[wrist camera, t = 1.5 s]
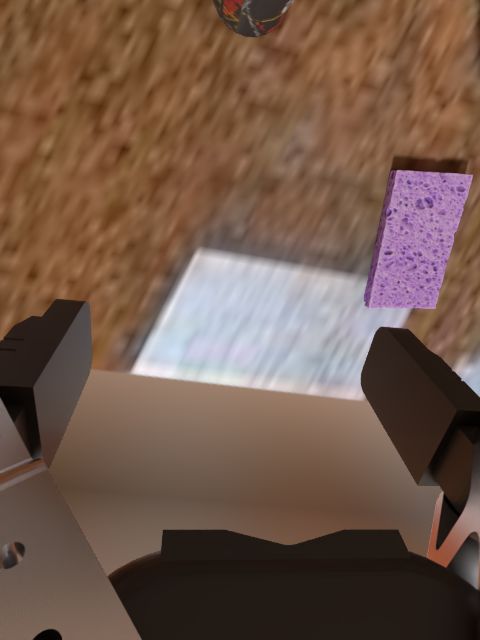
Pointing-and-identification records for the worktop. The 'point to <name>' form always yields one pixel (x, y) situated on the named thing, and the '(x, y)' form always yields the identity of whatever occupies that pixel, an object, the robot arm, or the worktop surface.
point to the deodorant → (252, 15)
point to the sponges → (415, 238)
